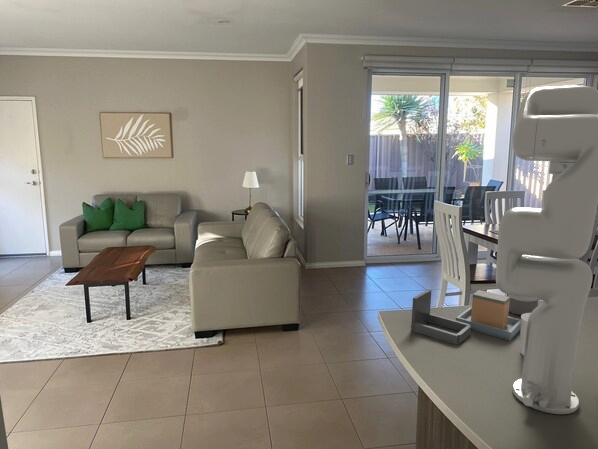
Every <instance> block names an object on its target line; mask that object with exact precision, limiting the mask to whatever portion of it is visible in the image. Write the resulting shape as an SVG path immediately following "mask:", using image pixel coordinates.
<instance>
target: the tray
mask: <svg viewBox="0 0 598 449" xmlns="http://www.w3.org/2000/svg"><path fill="white" fill-rule="evenodd" d="M471 311H472V306H469V308H466V310H464V311H463V312H462V313H460V314H459V315H457V316H455V320H456V321H459V322H463V323H467V324H470V325H471V331H474V332H478V333H481V334H483V335H487V336H492V337H495V338H498V339H501V340H506V341H512V340H513V339H514V337H515V336H516V335H517V334H518V333H519V332H520V329H521V318H515V317H513V316H509V315H508V324H507V327H506V328H505V329H500V328H497V327H493V326H489V325H486V324H482V323H478V322H474V321H471Z"/></svg>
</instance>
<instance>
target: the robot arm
mask: <svg viewBox="0 0 598 449" xmlns="http://www.w3.org/2000/svg"><path fill="white" fill-rule="evenodd" d="M512 150H513V153H514V154H515V156H516V157H517V158H518V159H521V160H524V161H531V162H534V161H536V162H537V161H538V162H549V165H548V166H549V168H548V174H549V175H551V176H552V177H551V181H550V183H549V184H547V187H546V188H545V190H544V191H545V192H544V199H543V207H525V206H523V207H522V206H521V207H520V206H519V207H517V206H516V207H512V208H509V209H508V210H506V211H505V212H504V213H503V215H502V217H501V220H500V223H499V227H498V236H497V250H496V252H497V253H496V264H495V265H496V266H495V282H496V287H497V288H498V290H499V291H500V292H501V293H503V294H506V295H507V294H510V295H515V296H521V297H527V298H534V299H538V301H542V302H541V303H540V304H538V306H537V307H536V308H535V309H534V310H533V311H532V312H531V314H530V316H529V319H528V325H527V334H526V343H525V352H524V356H523V362H522V363H523V364H522V373H521V378H519V379H517V380H515V381H514V382H513V384H512V393H513V395H514V396H515V397H516V398H517V399H518V400H519V401H520V402H522V403H523V404H524V405H525V406H527V407H530V408H532V409H534V410H537V411H540V412H543V413H547V414H553V415H568V414H572V413H575V412H576V411H577V410H578V409H579V407H580V400H579V398H578V395H576V393H574V392H573V382H574V378H575V368H576V362H577V361H576V360H577V356H578V355H577V354H578V349H579V348H578V347H579V339H580V333H581V327H582V326H581V325H582V319H583V315H584V310H585V306H586V302H587V299H588V298H589V294H590V291H591V287H592V283H593V272H592V269H591V267H590V266H589V265H588V263H586V262H585V261H583V260H582V259H579V258H582V257H583V256H585V254H587V252H588V250H589V248H590V246H591V240H592V235H593V232H594V226H595V222H596V215H597V210H598V89H597V88H595V87H593V86H588V85H562V86H541V87H535V88H533V89H531V90H530V91H528V92H527V93H526V95H524V98H523V99H522V101H521V103H520V106H519V110H518V113H517V117H516V122H515V127H514V130H513V135H512Z"/></svg>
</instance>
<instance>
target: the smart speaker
mask: <svg viewBox="0 0 598 449" xmlns="http://www.w3.org/2000/svg"><path fill="white" fill-rule="evenodd" d="M506 296H508V297H510V304H509V313H511V314H512V315H514V316H517V315H518V317H521V315H522V314H525V313H531V312H532V311H533V310H534V309H535V308H536V307H537V306H538V305H539V300H538V299H534V298H527V297H521V296H515V295H510V294H506Z"/></svg>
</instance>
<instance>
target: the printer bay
mask: <svg viewBox="0 0 598 449" xmlns="http://www.w3.org/2000/svg"><path fill="white" fill-rule="evenodd" d="M432 292H433V291H432V289H427V290H424V291H423V292H421V293H419V294H417V295H416V296H413V298H412V307H411V308H412V309H411V325H410V326H411V327H410V331H412V332H415V333H418V334H422V335H425V336H429V337H431V338H433V339H438V340H441V341H444V342H447V343H449V344H450V343H451V344H453V345H458V344H462V342H463V341H465V340H466V339H467V338H468V337H469V336H470V335H471V332H472V330H471V325H470V324H467V323H463V322H459V321H456V319H451V318H449V317H444V316H440V315H437V314H434V313H431V304H432V303H431V302H432ZM428 323H430V324H434V325H437V326H440V327H444V328H447V329H450V330H454V331H458V332H457V333H454V332H450V331H447V330H444V329H440V328H436V327H434V326H431V325H427V324H428Z"/></svg>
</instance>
